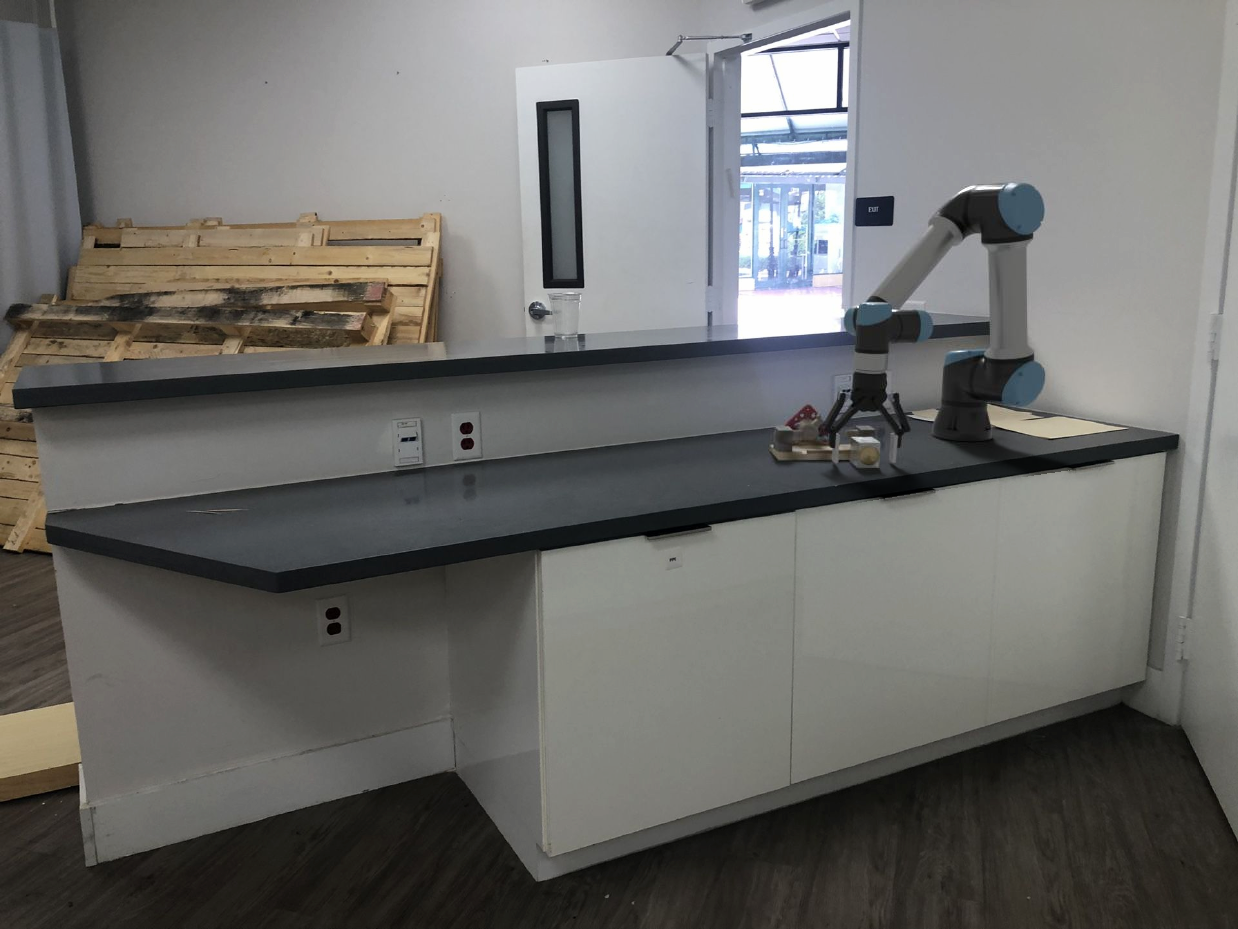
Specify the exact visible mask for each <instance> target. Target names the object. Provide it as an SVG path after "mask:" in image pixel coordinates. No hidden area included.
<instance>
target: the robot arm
mask: <svg viewBox="0 0 1238 929" xmlns="http://www.w3.org/2000/svg"><path fill="white" fill-rule="evenodd" d="M1044 218H1045V204H1044V199H1043V196H1042V194H1041V192H1040V191H1039V190H1038V189H1036V187H1035V186H1034V185H1032V184H1030V183H1026V182H1016V181H1013V182H1012V181H1010V182H999V183H985V184H984V183H981V184H980V183H978V184H974V185H970V186H968V187H966V188H963V189H961V191H958V192H957V193H956V194H954V195H953V196H952V197H949V199H947V201H946V202H944V203H943V204H942V205H941V206H940V208H938V209H937V211H936V212H935V213H934V214H933V215H932V216H931V217H930V219H929V220H928V222H927V226H928V227H927V228H926V229H925V231H924V232H922V234H921V236H920V237H919V238H918V239H917V240H916V241H915V243H914V244H913V245H911V247H910V249H908V250H907V251H906V253H905V254H904V256H902V258H901V259H900V260H899V262H897V264H896V265H895V266H894V267H893V269H892V270H891V271H890V272H889V273H888V274H887V276H886V277H885V278H884V279H883V280H882V282H881V283H880V284H879V285H878V287H877V288H876V289H875V290H874V291H873V292H872V293H871V295H870V296H869V297H868V298H867V300H865V301H864V302H861V303H860V304H856V305H853V306H850V307H849V308H848V309H847V310H846V312H845V314H844V317H843V326H844V328H845V330H846V333H848V334H849V335H852V336H854V337H855V340H854V358H853V369H854V371H853V373H852V382H851V383H852V384H851V391H850V392H843V390H839V391H838V392H837V397H836V400H835V402H834V404H833V406H832V408H831V410H830V411H829V413H828V415H827V417H826V418H825V419H824V421H825V422H824V424H823V425H822V430H823V431H825V432H827V433H828V439H829V441H828V442H829V447H830V448H832V460H831V461H832V462H833V463H834V464H839V460H838V457H839V442H840V441H841V440H840V438H841V435H840V434H839V432H840V431H841V430H842V429H843V427H844V426H845V425H846V424H847V423H849V421H850V419H852V418H853V417H854V415H856V414H858V412H859V411H860V412H861V413H866V412H871V413H876V412H877V411H878V413H880V415H881V416H882V417H883V420H885V421H886V423H887V424H888V426H889V427H890V428H891V429H892V430H893V433H892V432H890V440H889V454H888V461H889V462H890V463H893V464H895V463H897V452H898V449H900V448H901V447H902V438H903V436H904V434H906V433H910V432H911V426H910V425H909V421H908V419H907V417H906V414H905V412H904V409H903V407H902V405H901V403H900V401H901V400H900V394H899V392H896V391H895V390H893V391H891V392H887V391H886V390H887V380H888V378H887V377H888V374H887V372H886V371H887V370H889V369H888V368H889V367H888V366H889V352H890V345H893V344H895V345H896V344H917V343H923V342H926V341H928V340H929V338H930V337H931V336H932V333H933V331H934V322H933V321H934V320H933V318H932V316H931V315H930V313H929V312H927V311H926V310H921V309H919V310H918V309H911V310H910V309H909V310H907V309H901V308H902V307H903V306H904V305H905V303H906V302H907V301H908V300H909V299H910V298H911V296H912V295H913V294H914V293H915V291H916V290H917V289H918V288H919V287H920V286H921V284H922V283H923V282H924V281H925V280H926V278H927V277H928V276H929V275H930V274H931V272H932V271H934V269H935V268H936V267H937V266H938V264H939V263H940V262H941V261H942V260H943V258H944V257H946V255H947V253H948V252H949V251H950V250H951V248H953V247H956V246H959V245H960V244H961V243H962V242H963V241H964V240H966V238H967V237H970V236H971V235H972V236H973V235H975V234H980V244H981V245H982V246H983V247H984V248H985V249H986V250H987V253H988V254H987V256H988V257H987V258H988V260H987V262H988V296H989V297H988V299H989V301H988V303H989V304H988V305H989V310H988V311H989V347H988V348H981V349H979V348H977V349H959V350H950V351H948V352H947V353H946V354H945V357H944V362H943V367H942V368H943V369H942V383H941V384H942V385H941V397H940V398H941V399H940V407H939V409H938V411H937V413H936V417H935V418H934V421H933V423H932V426H931V435H932V436H934V437H935V438H936V437H937V438H940V439H944V440H948V441H949V440H950V441H957V442H982V441H983V442H984V441H988V440H991V439H992V435H993V428H992V425H991V419H990V416H989V412H988V403H992V404H997V405H1002V406H1005V407H1009V408H1011V407H1014V408H1015V407H1016V408H1024V407H1027V406H1029V405H1031V404H1032V403H1034V402H1035V401H1036V400H1037V399H1038V397H1039V395H1040V394H1041V392H1042V391H1043V389H1044V385H1045V382H1046V371H1045V367H1043V365H1042V364H1041V363H1039V361H1036V360H1035V350H1034V348H1033V347H1031V346H1030V345H1029V344H1028V278H1027V276H1028V274H1027V273H1028V272H1027V271H1028V266H1027V264H1028V259H1027V257H1028V256H1027V255H1028V254H1027V252H1028V251H1027V250H1028V249H1027V247H1028V245H1029V244H1030V243H1031V242H1033V240H1034V233H1035V232H1037V231H1038V230H1039V228H1040V227H1041V226H1042V222H1043V221H1044ZM849 399H850V401H851V404H850V405H849V406H848V407H847V409H846V410H845V412H843V413H842V415H841V416H840V417H839V418H838V416H839V414H840V412H841V410H842V409H843V407H844V405H845V403H846V402H847V401H848V400H849ZM887 399H888V401H889V402H890V403H891V406H892V408H893V410H894V413H895V415H896V417H897V420H898V422H899V424H900V426H899V424H898V423H897V422H896V420H895V418H893V417H892V415H891V414H890V413H889V411H888V410H887V408H886V407H885V406H884V403H885V402H886V400H887ZM837 418H838V419H837ZM840 443H841V442H840Z"/></svg>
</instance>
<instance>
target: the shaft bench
mask: <svg viewBox="0 0 1238 929" xmlns="http://www.w3.org/2000/svg"><path fill="white" fill-rule="evenodd" d="M844 436H845V437H844V438H845V440H846V441H847V440H848V441H851V437H873V438H874V439H876V429H875V428H873V427H872V426H870V425H854V429H845V433H844ZM802 439H803V431H802V430H792V429H791V428H790V427H789V426H785V425H782V426H781V425H779V426H778V425H774V426H773V443H772V444H770V446H769V452H770V453H771V454H772V455H773V456H774V457H775V458H776V459H777V460H778V461H823V460H824V461H832V448H830V447H829V441H828V442H798V443H797V445H793V440H802ZM850 445H851V443H849V444H841V442H839V457H838V461H841V460H842V461H845V460H847V461H848V460H849V461H850Z"/></svg>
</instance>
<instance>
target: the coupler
mask: <svg viewBox="0 0 1238 929" xmlns="http://www.w3.org/2000/svg"><path fill="white" fill-rule="evenodd" d="M850 444H851V445H850V460H849V463H850V464H852V465H853V466H854V467H856V468H857V469H875V468H876V469H879V467H880V458H881V457H880V456H881V445H882V444H881V442H880V440H878V439H876V438H875V439H874V438H873V437H851V440H850Z"/></svg>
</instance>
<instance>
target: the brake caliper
mask: <svg viewBox="0 0 1238 929" xmlns="http://www.w3.org/2000/svg"><path fill="white" fill-rule="evenodd" d="M801 415H803V416H801ZM812 415H814V416H812ZM821 415H822V413H821V412H819V413H818V411H817V410H816V409H815V408H814V407H813V406H812V405H811V404H809V403H808V404H805V405H804V406H802V407H801V409H800V410H799V411H798V412H797V413H796V414H794V415H793V416H792V417H791V418H790V419H789V420H787V422H786V423H785V424H784V426H789V427H790V428H791V429H792V430H802V431H803V439H802V440H793V445H797V443H798V442H829V433H827V432H825V431H823V430H822V425H823V424H824V422H825V419H824V418H823V416H821ZM800 422H801V423H800ZM797 425H798V426H797Z"/></svg>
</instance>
